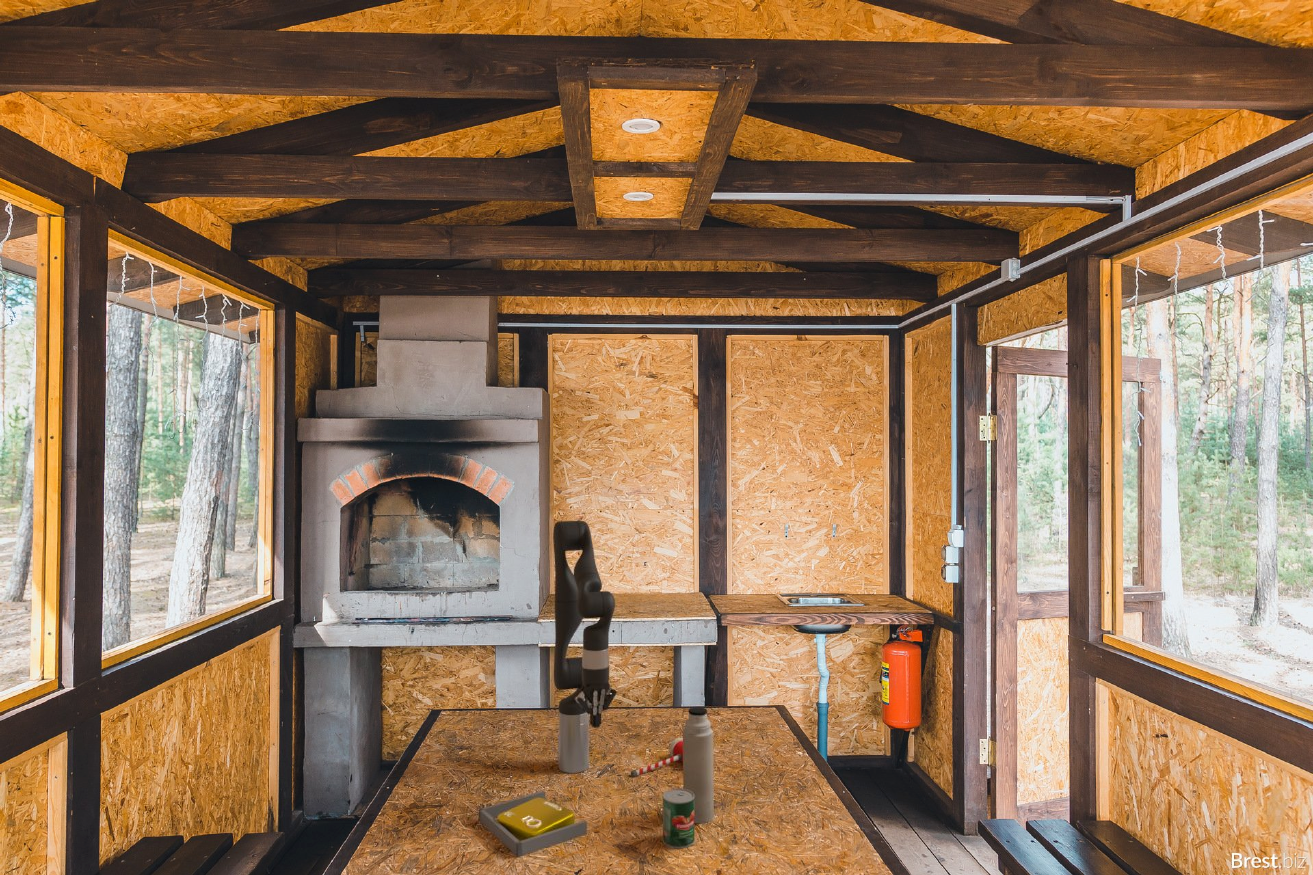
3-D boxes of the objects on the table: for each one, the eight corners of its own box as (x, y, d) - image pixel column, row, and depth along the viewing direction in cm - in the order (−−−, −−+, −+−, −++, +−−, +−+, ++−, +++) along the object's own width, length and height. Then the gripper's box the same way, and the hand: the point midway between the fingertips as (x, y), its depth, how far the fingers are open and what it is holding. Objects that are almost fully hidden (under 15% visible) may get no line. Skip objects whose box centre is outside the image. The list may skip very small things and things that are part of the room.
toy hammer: (642, 785, 222) (641, 762, 223) (622, 771, 232) (622, 749, 233) (706, 768, 234) (706, 747, 234) (685, 755, 244) (685, 735, 244)
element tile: (578, 828, 196) (578, 809, 196) (533, 852, 184) (533, 831, 184) (539, 811, 205) (539, 793, 205) (494, 832, 194) (494, 813, 194)
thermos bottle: (688, 807, 207) (687, 702, 208) (717, 811, 204) (716, 705, 205) (679, 820, 199) (678, 712, 200) (709, 825, 197) (708, 715, 197)
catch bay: (478, 820, 200) (478, 809, 200) (543, 801, 211) (543, 790, 211) (517, 857, 181) (517, 844, 181) (586, 833, 192) (586, 821, 193)
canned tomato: (684, 851, 183) (684, 805, 184) (656, 843, 188) (656, 797, 188) (700, 837, 190) (700, 792, 190) (673, 829, 194) (673, 785, 195)
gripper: (609, 657, 218) (608, 717, 218) (568, 664, 211) (567, 727, 211) (623, 663, 212) (623, 725, 212) (581, 671, 205) (581, 736, 205)
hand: (595, 726), depth 211 cm, fingers closed
